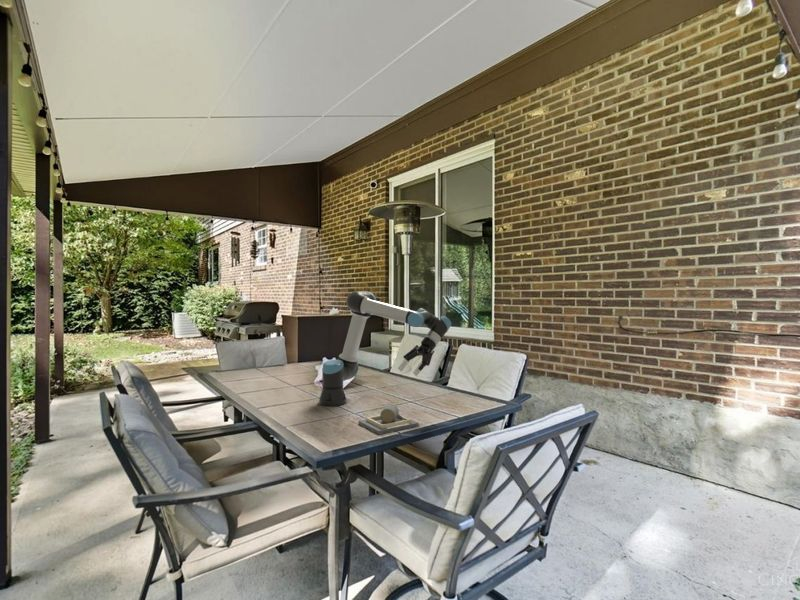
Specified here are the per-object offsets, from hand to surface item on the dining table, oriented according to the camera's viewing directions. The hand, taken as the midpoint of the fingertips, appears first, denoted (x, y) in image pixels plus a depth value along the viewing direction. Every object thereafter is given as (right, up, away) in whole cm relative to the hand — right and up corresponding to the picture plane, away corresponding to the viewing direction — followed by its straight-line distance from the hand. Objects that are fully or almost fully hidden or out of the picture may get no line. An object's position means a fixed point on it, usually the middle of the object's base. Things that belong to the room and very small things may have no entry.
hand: (406, 372), depth 217 cm
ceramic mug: (-7, -21, -17) cm, 28 cm away
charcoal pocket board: (-9, -22, -17) cm, 29 cm away
